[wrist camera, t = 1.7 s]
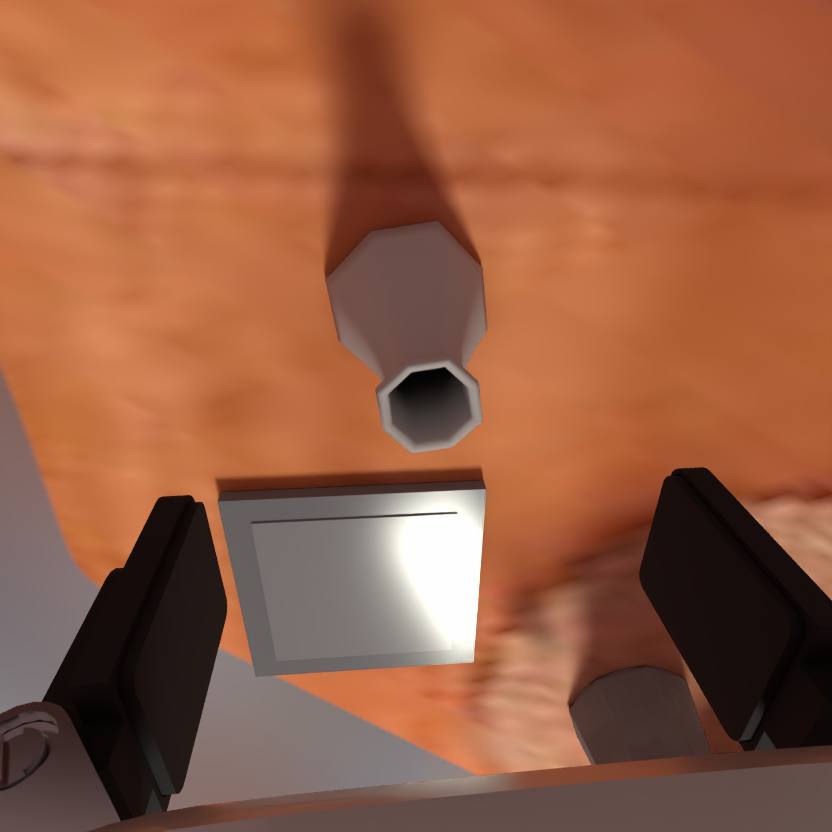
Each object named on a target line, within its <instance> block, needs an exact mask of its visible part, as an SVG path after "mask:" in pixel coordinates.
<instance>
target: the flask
mask: <svg viewBox="0 0 832 832" xmlns="http://www.w3.org/2000/svg"><path fill="white" fill-rule="evenodd" d="M325 281H326V285H327V290H328V294H329V299H330V303H331V308H332V312H333V317H334V322H335V326H336V331H337V335H338V340H339V342H341V343H342V344H343V345H344V346H345V347H346V348H347V349H348V350H350V351H351V352H352V353H353V354H354V355H355V356H357V357H358V358H359V359H360V360H361V361H362V362H364V363H365V364H366V365H367V366H368V367H369V368H371V369H372V370H373V371H374V372H375V373H376V374H377V375H378V376H379V377H380V379H381V381H382V382H381V383H380V384H379V385H378V386H377V388H376V396H377V401H378V406H379V411H380V417H381V422H382V427H383V430H384V431H385V432H386V433H388V434H389V435H390V436H391V437H393V438H394V439H395V440H396V441H398V442H399V443H400V444H401V445H403V446H404V447H405V448H406V449H408V450H409V451H410V452H411V453H418V452H424V451H431V450H437V449H443V448H450V447H453V446H454V445H455V444H456V443H458V442H459V441H460V440H461V439H462V438H463V437H465V436H466V435H467V434H468V433H469V432H470V431H472V430H473V429H474V428H475V427H476V426H477V425H479V424H480V423H481V422H482V412H481V401H480V390H479V383H478V381H477V380H476V379H475V378H474V377H473V376H472V375H471V374H470V373H469V372H468V371H467V370H466V369H465V368H466V366H467V364H468V362H469V360H470V358H471V356H472V354H473V352H474V350H475V348H476V347H477V345H478V344H479V342H480V341H481V339H482V338H483V336H484V335H485V333H486V331H487V318H486V305H485V293H484V280H483V268H482V267H481V266H480V265H479V264H478V263H477V262H476V261H475V260H474V259H473V257H472V256H471V255H470V254H469V253H468V252H467V251H466V250H465V249H464V248H463V247H462V246H461V245H460V244H459V243H458V241H457V240H456V239H455V238H454V237H453V236H452V235H451V234H450V233H449V232H448V231H447V230H446V229H445V228H444V227H443V225H442V224H441V223H440V222H439V221H432V222H426V223H419V224H413V225H407V226H400V227H394V228H387V229H381V230H375V231H370V232H369V233H368V234H367V235H366V237H365V238H364V239H363V240H362V241H361V242H360V243H359V244H358V245H357V246H356V247H355V248H354V249H353V251H352V252H351V253H350V254H349V255H348V256H347V257H346V258H345V259H344V260H343V261H342V262H341V263H340V265H339V266H338V267H337V268H336V269H335V270H334V271H333V272H332V273H331V274H330V275H329V276H328V277H327V279H326V280H325Z"/></svg>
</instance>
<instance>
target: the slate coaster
mask: <svg viewBox="0 0 832 832" xmlns="http://www.w3.org/2000/svg"><path fill="white" fill-rule="evenodd" d="M485 498H486V487H485V484H484V481H483V480H480V481H457V482H435V483H413V484H391V485H369V486H346V487H324V488H302V489H280V490H258V491H236V492H221V494H220V497H219V499H218V505H219V510H220V515H221V519H222V524H223V528H224V533H225V538H226V542H227V547H228V551H229V556H230V560H231V565H232V570H233V574H234V579H235V583H236V588H237V593H238V597H239V602H240V606H241V611H242V615H243V620H244V625H245V629H246V634H247V638H248V643H249V648H250V652H251V657H252V661H253V666H254V670H255V675H256V677H258V676H273V675H288V674H303V673H318V672H333V671H348V670H364V669H379V668H394V667H409V666H424V665H439V664H454V663H469V662H473V659H474V646H475V632H476V619H477V605H478V592H479V578H480V565H481V551H482V538H483V525H484V511H485Z"/></svg>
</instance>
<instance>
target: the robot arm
mask: <svg viewBox="0 0 832 832" xmlns="http://www.w3.org/2000/svg"><path fill="white" fill-rule="evenodd" d="M639 577H640V582H641V585H642V588H643V590H644V591H645V593H646V595H647V597H648V598H649V600H650V602H651V603H652V605H653V607H654V609H655V610H656V612H657V614H658V616H659V617H660V619H661V621H662V622H663V624H664V626H665V628H666V629H667V631H668V633H669V635H670V636H671V638H672V640H673V641H674V643H675V645H676V647H677V648H678V650H679V652H680V654H681V655H682V657H683V659H684V660H685V662H686V664H687V666H688V667H689V669H690V671H691V673H692V674H693V676H694V678H695V680H696V681H697V683H698V685H699V686H700V688H701V690H702V692H703V693H704V695H705V697H706V699H707V700H708V702H709V704H710V705H711V707H712V709H713V711H714V712H715V714H716V716H717V718H718V719H719V721H720V723H721V724H722V726H723V728H724V730H725V731H726V733H727V734H728V736H729V737H730V738H731V739H733V740H735V741H739V743H740V744H741V746H742V748H743V750H744V751H742V752H731V753H720V754H708V755H697V756H686V757H675V758H664V759H653V760H642V761H631V762H620V763H609V764H598V765H588V766H577V767H567V768H556V769H546V770H535V771H525V772H514V773H504V774H494V775H483V776H473V777H463V778H453V779H442V780H433V781H422V782H412V783H402V784H393V785H383V786H373V787H363V788H353V789H343V790H334V791H324V792H314V793H304V794H295V795H286V796H278V797H269V798H261V799H252V800H245V801H236V802H227V803H219V804H211V805H202V806H195V807H189V808H183V809H178V810H171V811H167V808H168V805H169V800H170V797H171V794H178V793H180V792H181V790H182V788H183V785H184V781H185V778H186V774H187V770H188V766H189V762H190V758H191V754H192V750H193V746H194V742H195V738H196V734H197V731H198V727H199V723H200V719H201V715H202V710H203V707H204V703H205V699H206V695H207V691H208V687H209V683H210V679H211V675H212V671H213V667H214V663H215V659H216V655H217V651H218V647H219V644H220V640H221V636H222V632H223V628H224V624H225V620H226V615H227V599H226V594H225V590H224V586H223V582H222V578H221V573H220V569H219V565H218V561H217V556H216V552H215V548H214V544H213V540H212V535H211V531H210V527H209V523H208V519H207V514H206V510H205V507H204V504H203V503H202V502H195V501H194V498H193V497H192V496H191V495H184V496H165V497H160V498H159V499H158V500H157V501H156V503H155V505H154V507H153V509H152V512H151V514H150V516H149V518H148V520H147V522H146V524H145V526H144V528H143V530H142V532H141V534H140V536H139V538H138V540H137V542H136V544H135V546H134V548H133V550H132V552H131V554H130V556H129V558H128V560H127V562H126V564H125V566H124V568H116V569H114V570H113V571H111V572H110V574H109V575H108V577H107V578H106V580H105V582H104V584H103V585H102V587H101V589H100V591H99V593H98V595H97V597H96V599H95V601H94V603H93V605H92V607H91V609H90V610H89V612H88V614H87V616H86V618H85V620H84V622H83V624H82V626H81V628H80V629H79V631H78V633H77V635H76V637H75V639H74V641H73V643H72V645H71V647H70V649H69V651H68V652H67V654H66V656H65V658H64V660H63V662H62V664H61V666H60V668H59V670H58V672H57V674H56V676H55V677H54V679H53V681H52V683H51V685H50V687H49V689H48V691H47V693H46V695H45V697H44V699H43V700H42V702H31V703H27V704H23V705H19V706H16V707H14V708H12V709H9V710H7V711H6V712H3V713H1V714H0V832H832V600H831V599H830V598H829V597H828V596H827V595H826V594H825V593H824V592H823V591H822V590H821V589H820V588H819V587H818V586H817V584H816V583H815V582H814V581H813V580H812V579H811V578H810V577H809V576H808V575H807V574H806V573H805V572H804V571H803V570H802V569H801V567H800V566H799V565H798V564H797V563H796V562H795V561H794V560H793V559H792V558H791V557H790V556H789V555H788V554H787V553H786V551H785V550H784V549H783V548H782V547H781V546H780V545H779V544H778V543H777V542H776V541H775V540H774V539H773V538H772V537H771V536H770V534H769V533H768V532H767V531H766V530H765V529H764V528H763V527H762V526H761V525H760V524H759V523H758V522H757V521H756V520H755V518H754V517H753V516H752V515H751V514H750V513H749V512H748V511H747V510H746V509H745V508H744V507H743V506H742V505H741V504H740V503H739V501H738V500H737V499H736V498H735V497H734V496H733V495H732V494H731V493H730V492H729V491H728V490H727V489H726V488H725V487H724V485H723V484H722V483H721V482H720V481H719V480H718V479H717V478H716V477H715V476H714V475H713V474H712V473H711V472H710V471H709V470H708V469H707V468H703V467H699V468H681V469H676V470H674V471H673V472H672V474H671V476H668V477H666V478H665V480H664V482H663V485H662V489H661V493H660V497H659V500H658V504H657V508H656V511H655V515H654V519H653V522H652V526H651V530H650V534H649V537H648V541H647V545H646V548H645V552H644V556H643V560H642V563H641V567H640V572H639Z"/></svg>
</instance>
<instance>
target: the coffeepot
mask: <svg viewBox="0 0 832 832" xmlns="http://www.w3.org/2000/svg"><path fill="white" fill-rule="evenodd" d="M569 712H570V716H571V719H572V722H573V725H574V728H575V732H576V735H577V737H578V739H579V741H580V743H581V745H582V747H583V749H584V751H585V753H586V755H587V757H588V759H589V761H590V763H591V765H598V764H609V763H620V762H631V761H642V760H653V759H664V758H675V757H686V756H697V755H708V754H712V752H711V749H710V747H709V744H708V741H707V738H706V735H705V732H704V730H703V727H702V724H701V721H700V718H699V716H698V713H697V710H696V707H695V704H694V701H693V699H692V696H691V693H690V690H689V687H688V685H687V682H686V679H684V678H682V677H680V676H678V675H676V674H674V673H672V672H669V671H667V670H665V669H660V668H656V667H633V668H628V669H623V670H619V671H616V672H613V673H610V674H607V675H605V676H603V677H601V678H599V679H597V680H596V681H594V682H593V683H591V684H590V685H588V686H587V687H586V688H585V689H584V690H583V691H581V693H580V694H579V695H578V696H577V698H576V699H575V701H574V703H573V705H572V707H571V708H570V709H569Z"/></svg>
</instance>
